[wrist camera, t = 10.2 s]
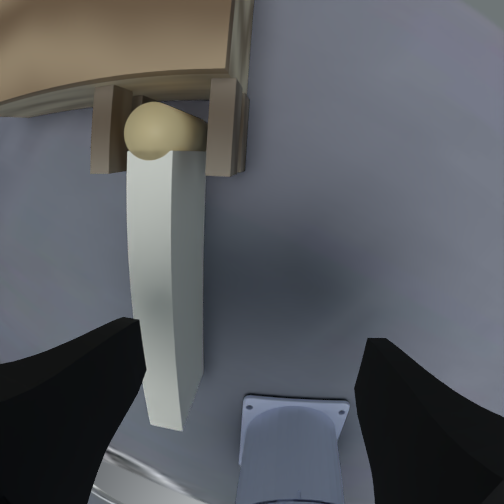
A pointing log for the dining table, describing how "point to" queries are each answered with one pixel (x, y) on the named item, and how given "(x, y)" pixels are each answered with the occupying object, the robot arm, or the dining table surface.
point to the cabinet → (130, 67)
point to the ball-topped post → (167, 253)
